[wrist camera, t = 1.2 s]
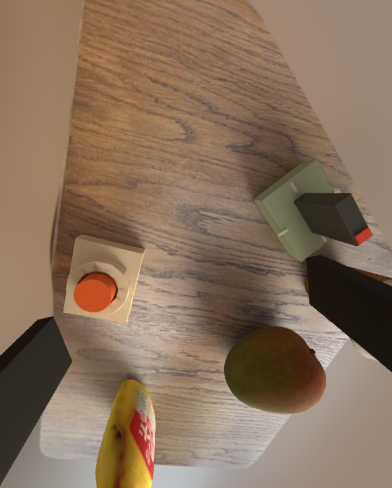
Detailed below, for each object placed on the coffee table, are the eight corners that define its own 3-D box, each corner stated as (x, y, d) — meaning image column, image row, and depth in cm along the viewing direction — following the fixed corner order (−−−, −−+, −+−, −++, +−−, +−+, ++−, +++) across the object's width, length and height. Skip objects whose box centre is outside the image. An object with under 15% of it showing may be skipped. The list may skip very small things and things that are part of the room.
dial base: (248, 202, 29) (258, 203, 26) (305, 159, 28) (321, 155, 25) (285, 257, 31) (298, 265, 28) (338, 219, 31) (356, 222, 28)
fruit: (307, 347, 36) (357, 404, 26) (246, 390, 37) (273, 461, 27) (271, 298, 33) (312, 342, 23) (205, 346, 34) (219, 408, 24)
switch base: (82, 234, 28) (68, 241, 24) (145, 249, 29) (141, 258, 25) (70, 303, 30) (55, 320, 26) (129, 314, 31) (123, 332, 27)
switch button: (84, 269, 25) (76, 275, 23) (119, 276, 26) (114, 283, 24) (78, 299, 26) (70, 308, 24) (112, 306, 27) (107, 315, 25)
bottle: (110, 371, 33) (22, 630, 14) (153, 366, 33) (126, 607, 14) (120, 431, 36) (60, 714, 16) (159, 425, 36) (145, 693, 17)
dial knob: (293, 201, 26) (336, 205, 19) (305, 192, 26) (353, 192, 19) (312, 233, 28) (359, 247, 21) (323, 224, 28) (375, 236, 21)
